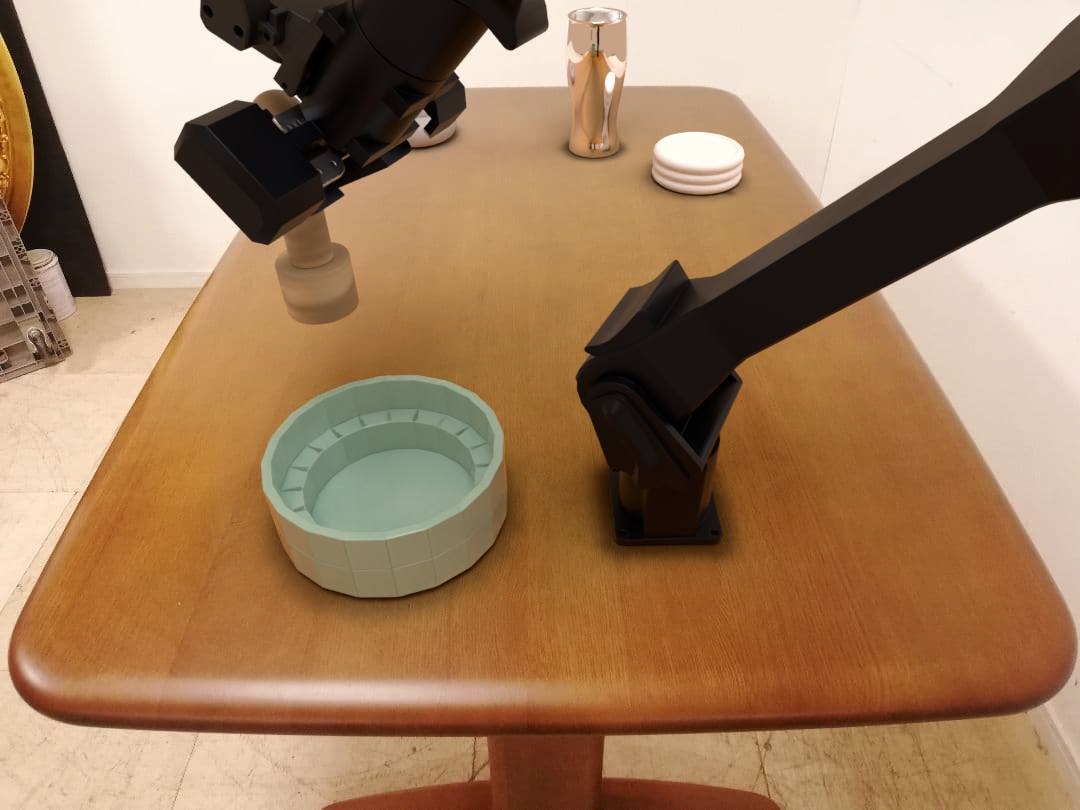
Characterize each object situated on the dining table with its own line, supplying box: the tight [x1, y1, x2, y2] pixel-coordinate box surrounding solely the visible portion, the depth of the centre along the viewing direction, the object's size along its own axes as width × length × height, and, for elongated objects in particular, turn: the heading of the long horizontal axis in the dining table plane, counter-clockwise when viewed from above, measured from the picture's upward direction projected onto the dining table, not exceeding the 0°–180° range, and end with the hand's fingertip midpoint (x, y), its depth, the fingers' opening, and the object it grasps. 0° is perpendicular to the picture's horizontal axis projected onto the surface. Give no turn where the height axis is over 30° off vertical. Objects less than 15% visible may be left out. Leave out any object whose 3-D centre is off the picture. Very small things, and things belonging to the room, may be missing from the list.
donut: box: [407, 110, 458, 148], centre depth 98 cm, size 10×4×10 cm
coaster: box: [651, 131, 746, 195], centre depth 87 cm, size 10×10×4 cm
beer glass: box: [565, 6, 629, 159], centre depth 90 cm, size 7×7×15 cm
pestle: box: [252, 88, 360, 326], centre depth 48 cm, size 5×5×14 cm
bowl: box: [260, 374, 508, 598], centre depth 48 cm, size 14×14×6 cm
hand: (283, 205), depth 49 cm, fingers closed on pestle, 3 cm apart
